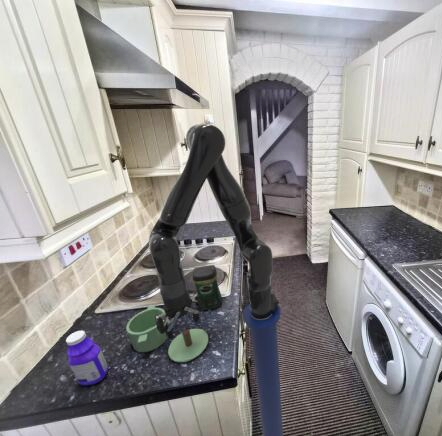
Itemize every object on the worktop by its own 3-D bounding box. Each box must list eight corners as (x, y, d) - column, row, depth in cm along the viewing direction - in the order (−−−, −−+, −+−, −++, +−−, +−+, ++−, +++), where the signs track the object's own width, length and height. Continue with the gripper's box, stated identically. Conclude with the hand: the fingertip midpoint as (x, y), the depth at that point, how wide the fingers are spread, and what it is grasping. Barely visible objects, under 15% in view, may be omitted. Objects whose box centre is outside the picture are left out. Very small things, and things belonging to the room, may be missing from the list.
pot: (172, 316, 94) (168, 299, 91) (167, 351, 79) (161, 333, 75) (139, 324, 90) (133, 308, 87) (126, 364, 75) (119, 345, 72)
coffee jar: (222, 296, 104) (216, 261, 97) (222, 308, 97) (215, 271, 90) (200, 300, 102) (192, 264, 95) (197, 312, 95) (189, 275, 88)
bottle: (113, 365, 74) (95, 325, 68) (104, 383, 69) (83, 341, 63) (87, 371, 73) (66, 330, 67) (76, 389, 68) (52, 347, 61)
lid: (208, 326, 88) (205, 313, 86) (209, 355, 77) (206, 341, 75) (171, 337, 84) (167, 323, 82) (166, 369, 73) (161, 354, 70)
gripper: (155, 308, 64) (167, 350, 70) (202, 283, 74) (209, 321, 80) (145, 297, 69) (157, 337, 75) (190, 275, 79) (197, 311, 85)
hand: (184, 329), depth 77 cm, fingers open, 8 cm apart
